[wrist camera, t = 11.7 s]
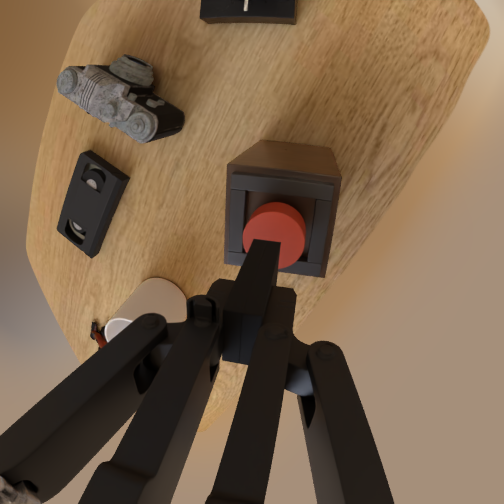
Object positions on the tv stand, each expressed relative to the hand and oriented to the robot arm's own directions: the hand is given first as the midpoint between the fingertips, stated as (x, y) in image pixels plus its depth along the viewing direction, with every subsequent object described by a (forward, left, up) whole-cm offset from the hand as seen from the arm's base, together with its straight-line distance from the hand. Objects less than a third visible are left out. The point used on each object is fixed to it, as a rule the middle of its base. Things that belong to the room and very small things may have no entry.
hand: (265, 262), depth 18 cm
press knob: (0, 0, -5) cm, 5 cm away
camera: (+19, -10, -21) cm, 30 cm away
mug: (+18, +22, -21) cm, 36 cm away
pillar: (0, 0, -21) cm, 21 cm away
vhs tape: (+28, +6, -21) cm, 36 cm away
